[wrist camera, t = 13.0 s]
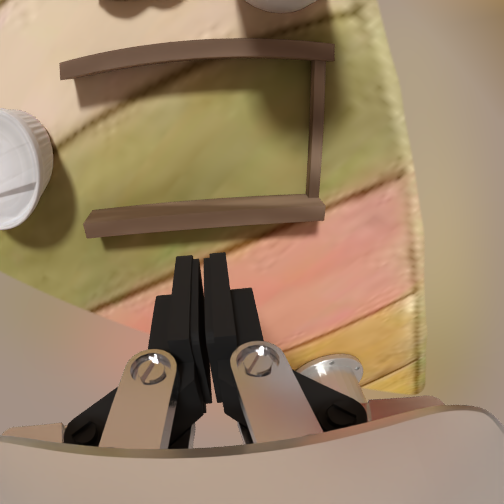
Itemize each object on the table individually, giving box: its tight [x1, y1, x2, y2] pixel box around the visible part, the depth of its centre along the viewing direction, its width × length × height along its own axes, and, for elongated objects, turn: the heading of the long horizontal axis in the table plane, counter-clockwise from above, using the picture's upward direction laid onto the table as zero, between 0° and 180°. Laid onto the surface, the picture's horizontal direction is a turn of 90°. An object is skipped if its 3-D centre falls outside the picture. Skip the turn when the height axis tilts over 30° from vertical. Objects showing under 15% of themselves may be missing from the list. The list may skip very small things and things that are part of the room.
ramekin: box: [0, 108, 53, 230], centre depth 22 cm, size 11×11×5 cm
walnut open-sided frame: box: [60, 38, 335, 238], centre depth 26 cm, size 16×22×3 cm
